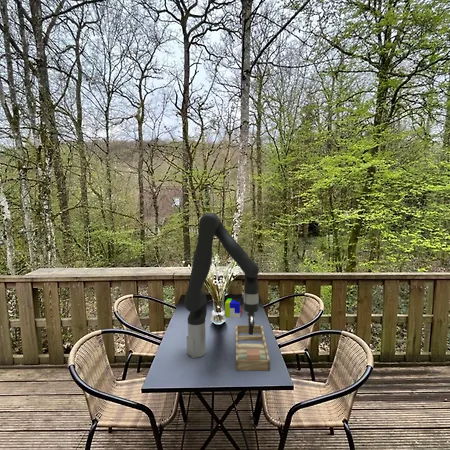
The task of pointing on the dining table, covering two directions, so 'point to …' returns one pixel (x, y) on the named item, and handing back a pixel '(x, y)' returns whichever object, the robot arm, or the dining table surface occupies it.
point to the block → (253, 354)
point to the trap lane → (242, 348)
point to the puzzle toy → (233, 308)
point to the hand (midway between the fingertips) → (250, 333)
